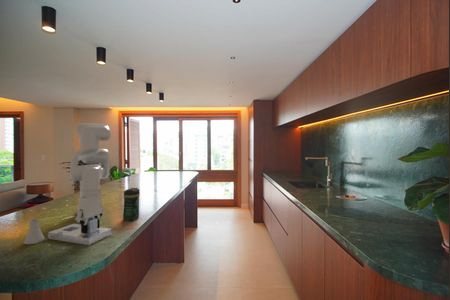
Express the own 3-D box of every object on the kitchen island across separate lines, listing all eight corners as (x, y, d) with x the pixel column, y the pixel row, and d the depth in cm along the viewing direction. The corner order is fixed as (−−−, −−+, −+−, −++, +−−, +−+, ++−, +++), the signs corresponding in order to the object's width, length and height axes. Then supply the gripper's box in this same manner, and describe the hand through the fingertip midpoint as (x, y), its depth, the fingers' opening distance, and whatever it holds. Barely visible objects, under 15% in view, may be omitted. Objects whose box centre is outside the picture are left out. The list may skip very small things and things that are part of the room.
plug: (83, 239, 107) (83, 213, 107) (90, 236, 111) (90, 211, 111) (91, 240, 106) (91, 214, 106) (98, 237, 110) (98, 212, 110)
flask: (31, 238, 107) (31, 217, 107) (48, 238, 108) (48, 217, 108) (19, 245, 100) (19, 222, 100) (36, 244, 101) (37, 222, 101)
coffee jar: (134, 221, 134) (134, 189, 134) (121, 221, 134) (121, 189, 134) (141, 216, 144) (141, 187, 143) (129, 216, 144) (129, 186, 144)
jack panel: (48, 238, 108) (48, 230, 108) (73, 229, 120) (73, 222, 120) (88, 245, 101) (89, 237, 101) (111, 234, 113) (111, 227, 113)
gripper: (99, 189, 118) (98, 223, 118) (67, 195, 101) (67, 236, 102) (111, 190, 116) (110, 225, 116) (81, 197, 99) (80, 238, 99)
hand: (90, 230), depth 109 cm, fingers open, 6 cm apart
